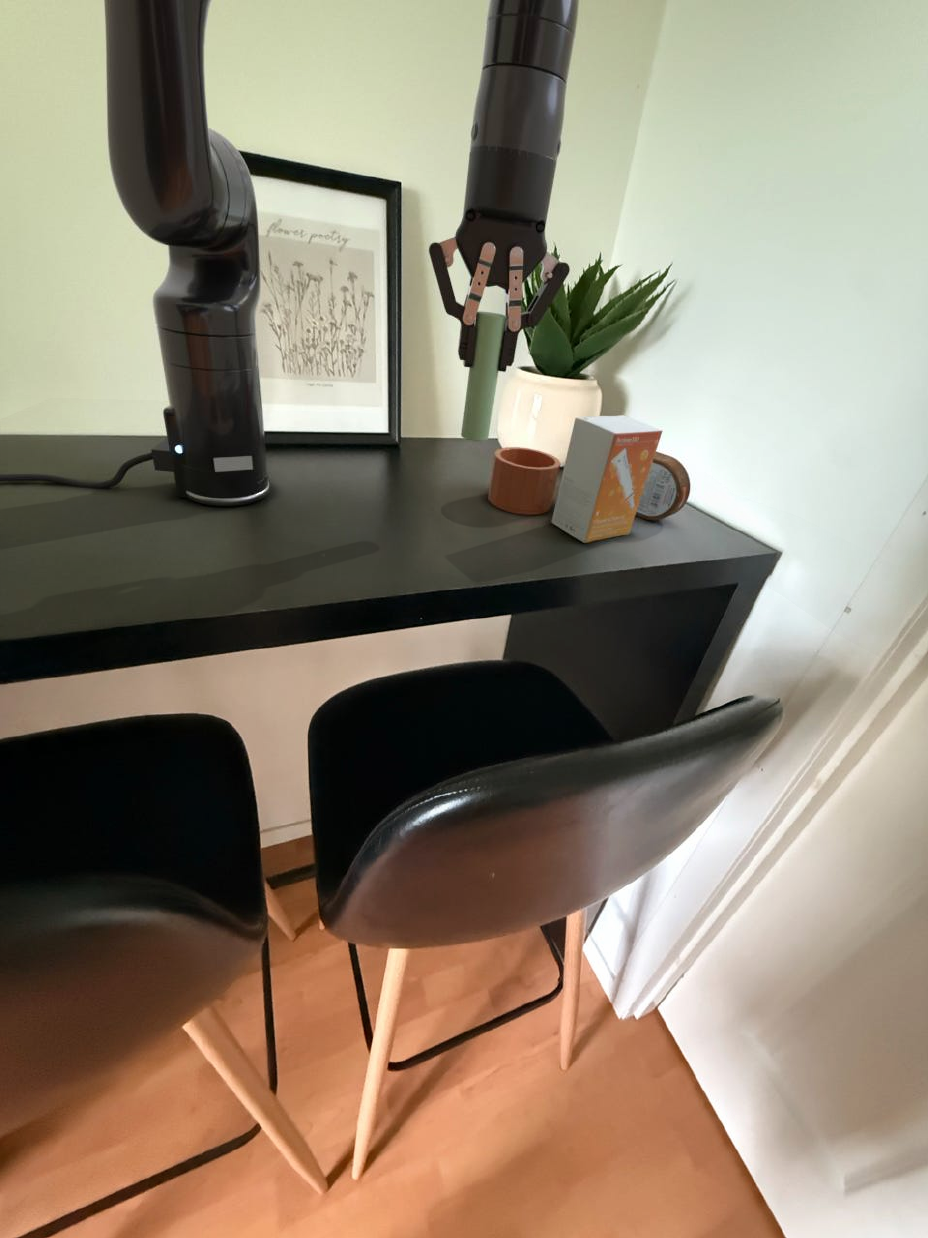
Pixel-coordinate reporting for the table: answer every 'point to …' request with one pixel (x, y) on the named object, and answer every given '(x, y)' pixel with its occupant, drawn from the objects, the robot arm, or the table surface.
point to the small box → (604, 476)
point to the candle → (483, 375)
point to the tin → (664, 488)
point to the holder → (523, 480)
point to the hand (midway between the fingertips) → (484, 367)
